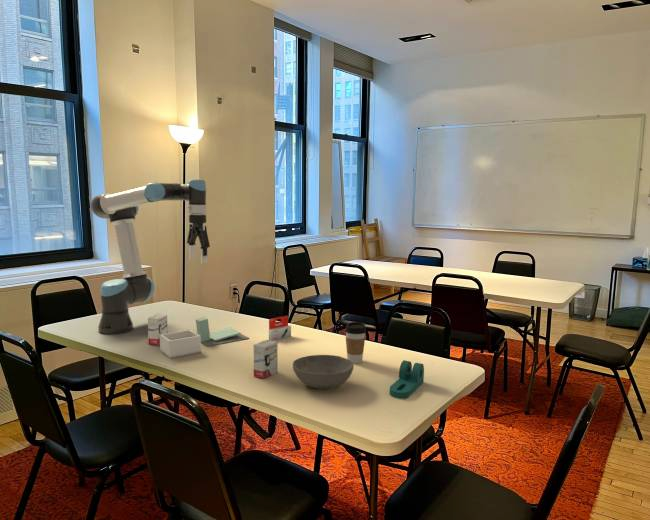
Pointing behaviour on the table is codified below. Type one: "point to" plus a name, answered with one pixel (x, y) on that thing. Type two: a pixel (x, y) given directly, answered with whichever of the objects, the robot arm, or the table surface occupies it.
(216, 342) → the mat
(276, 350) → the ink box
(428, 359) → the table surface
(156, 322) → the ink box
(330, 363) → the bowl
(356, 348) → the coffee cup
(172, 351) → the tub
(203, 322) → the lid
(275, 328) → the ink box
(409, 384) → the bracket
